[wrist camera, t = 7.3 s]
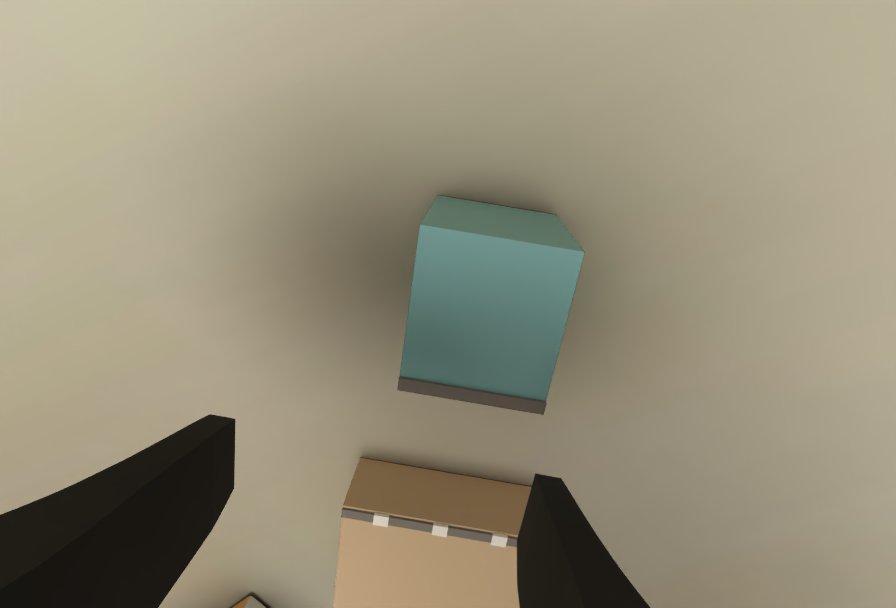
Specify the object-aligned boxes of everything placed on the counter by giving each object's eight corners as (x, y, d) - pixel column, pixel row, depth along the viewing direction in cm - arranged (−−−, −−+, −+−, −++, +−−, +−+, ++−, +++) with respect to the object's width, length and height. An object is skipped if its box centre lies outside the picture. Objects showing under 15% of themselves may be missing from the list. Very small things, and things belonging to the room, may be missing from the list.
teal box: (556, 214, 18) (585, 253, 13) (527, 337, 20) (543, 414, 15) (437, 195, 18) (419, 225, 13) (420, 319, 20) (397, 390, 15)
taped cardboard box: (532, 487, 23) (540, 542, 20) (503, 596, 25) (506, 660, 22) (360, 457, 23) (341, 508, 20) (347, 569, 25) (329, 630, 22)
